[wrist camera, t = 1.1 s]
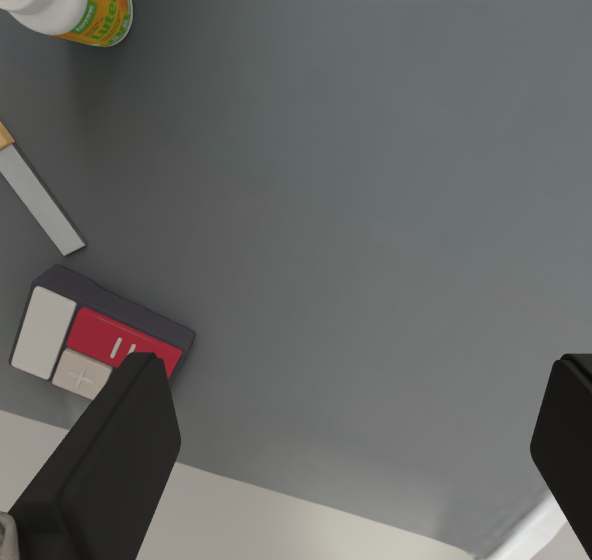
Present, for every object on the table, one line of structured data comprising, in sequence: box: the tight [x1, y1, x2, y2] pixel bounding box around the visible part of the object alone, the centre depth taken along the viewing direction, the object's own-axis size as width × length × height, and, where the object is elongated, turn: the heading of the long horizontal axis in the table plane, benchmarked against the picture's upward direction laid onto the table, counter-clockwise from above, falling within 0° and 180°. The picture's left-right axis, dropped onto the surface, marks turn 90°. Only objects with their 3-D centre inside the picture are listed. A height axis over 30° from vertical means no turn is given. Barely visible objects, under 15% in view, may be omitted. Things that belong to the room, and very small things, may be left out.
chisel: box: [0, 121, 88, 256], centre depth 34 cm, size 17×3×1 cm, turn 26°
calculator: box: [9, 265, 196, 400], centre depth 40 cm, size 11×4×15 cm
